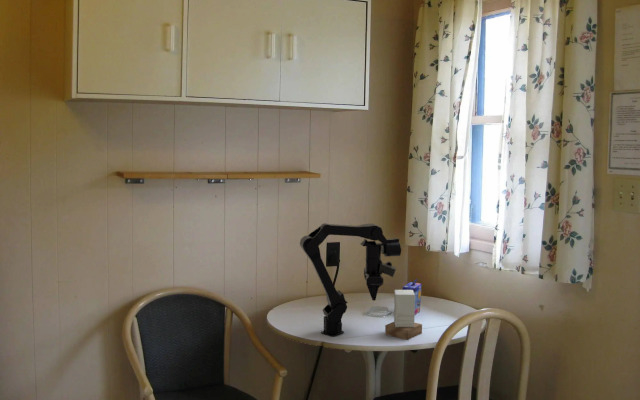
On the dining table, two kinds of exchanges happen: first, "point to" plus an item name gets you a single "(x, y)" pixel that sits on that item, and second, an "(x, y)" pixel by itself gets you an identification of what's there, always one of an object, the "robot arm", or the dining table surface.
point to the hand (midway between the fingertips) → (373, 297)
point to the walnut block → (403, 331)
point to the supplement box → (404, 308)
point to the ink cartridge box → (417, 291)
